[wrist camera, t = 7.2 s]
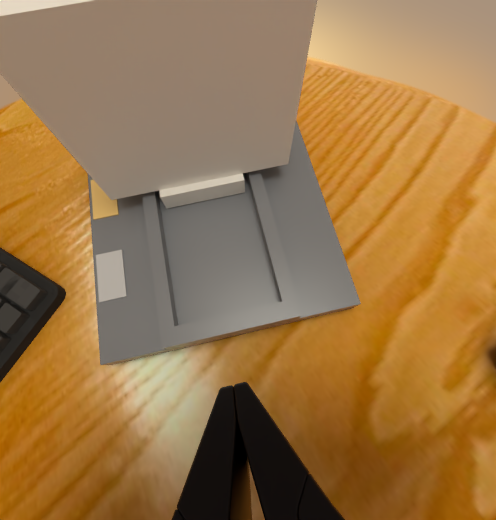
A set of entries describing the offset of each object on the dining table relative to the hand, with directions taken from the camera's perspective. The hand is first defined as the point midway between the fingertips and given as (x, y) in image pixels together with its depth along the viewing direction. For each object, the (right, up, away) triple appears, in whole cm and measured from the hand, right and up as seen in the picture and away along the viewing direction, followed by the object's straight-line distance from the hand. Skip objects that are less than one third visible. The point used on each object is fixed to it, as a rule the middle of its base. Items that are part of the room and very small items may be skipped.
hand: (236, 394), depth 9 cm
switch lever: (-3, +10, +11) cm, 15 cm away
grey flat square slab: (-2, +6, +11) cm, 13 cm away
